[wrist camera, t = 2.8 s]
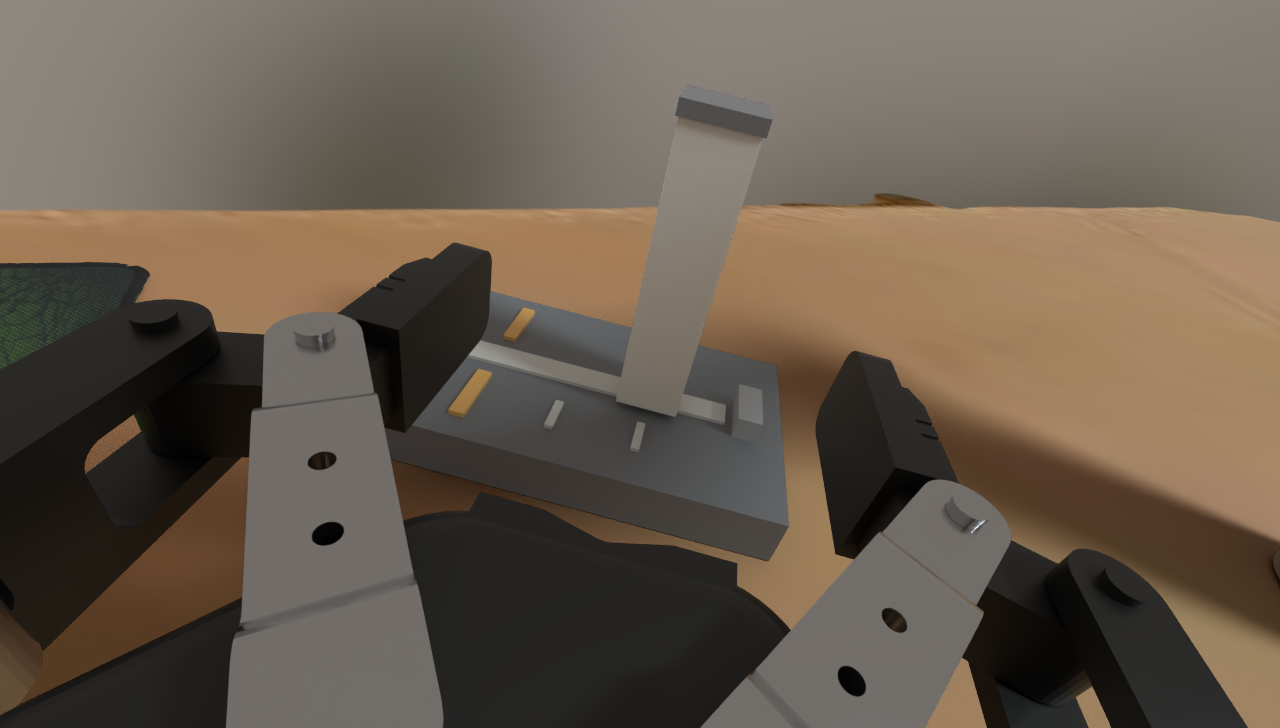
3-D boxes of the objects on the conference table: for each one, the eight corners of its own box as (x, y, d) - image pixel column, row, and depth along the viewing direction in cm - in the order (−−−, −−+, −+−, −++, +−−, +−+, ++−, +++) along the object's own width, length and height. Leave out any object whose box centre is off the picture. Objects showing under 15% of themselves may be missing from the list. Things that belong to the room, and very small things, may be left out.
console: (763, 397, 33) (783, 349, 31) (769, 561, 24) (799, 507, 22) (426, 309, 34) (424, 256, 32) (296, 433, 24) (280, 369, 22)
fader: (684, 380, 28) (769, 104, 20) (677, 418, 26) (772, 119, 18) (625, 365, 28) (688, 84, 21) (613, 401, 26) (679, 96, 18)
